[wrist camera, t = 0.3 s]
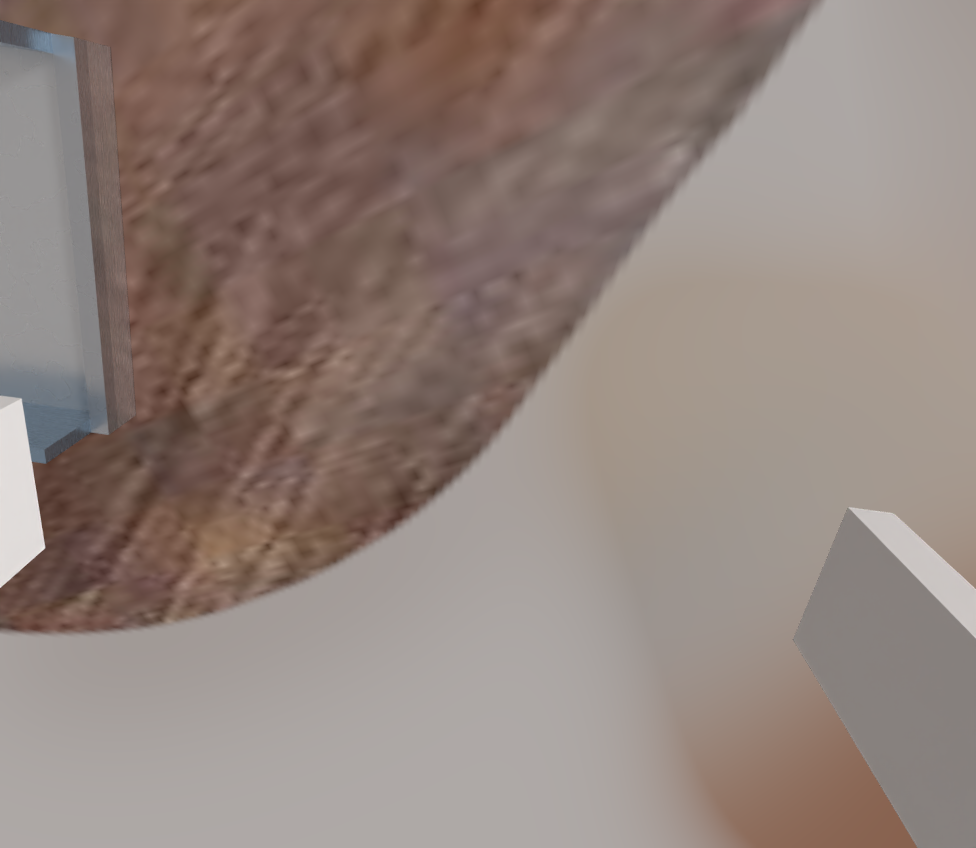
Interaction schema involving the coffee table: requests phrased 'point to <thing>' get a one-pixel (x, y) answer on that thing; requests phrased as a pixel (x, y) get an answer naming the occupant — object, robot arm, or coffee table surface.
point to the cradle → (61, 241)
